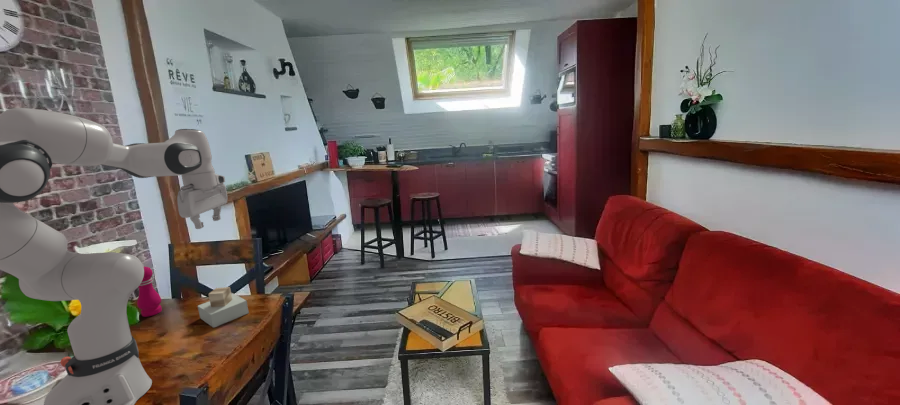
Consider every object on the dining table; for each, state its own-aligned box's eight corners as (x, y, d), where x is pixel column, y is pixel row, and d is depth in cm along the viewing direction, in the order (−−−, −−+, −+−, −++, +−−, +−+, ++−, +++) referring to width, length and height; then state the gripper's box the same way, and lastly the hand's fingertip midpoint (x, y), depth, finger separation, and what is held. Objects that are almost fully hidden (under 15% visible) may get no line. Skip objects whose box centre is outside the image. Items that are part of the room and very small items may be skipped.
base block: (213, 327, 133) (210, 314, 132) (200, 318, 141) (197, 305, 140) (248, 313, 142) (246, 300, 141) (234, 304, 150) (232, 292, 149)
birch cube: (225, 306, 138) (222, 293, 137) (211, 306, 138) (208, 294, 137) (232, 299, 143) (230, 287, 142) (218, 300, 143) (216, 287, 142)
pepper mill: (154, 317, 144) (141, 266, 140) (135, 318, 144) (122, 267, 140) (168, 307, 151) (156, 259, 147) (150, 308, 151) (138, 260, 147)
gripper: (189, 186, 111) (198, 233, 114) (227, 176, 131) (234, 215, 134) (166, 188, 111) (177, 234, 114) (208, 177, 131) (216, 216, 134)
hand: (208, 224), depth 124 cm, fingers open, 8 cm apart
